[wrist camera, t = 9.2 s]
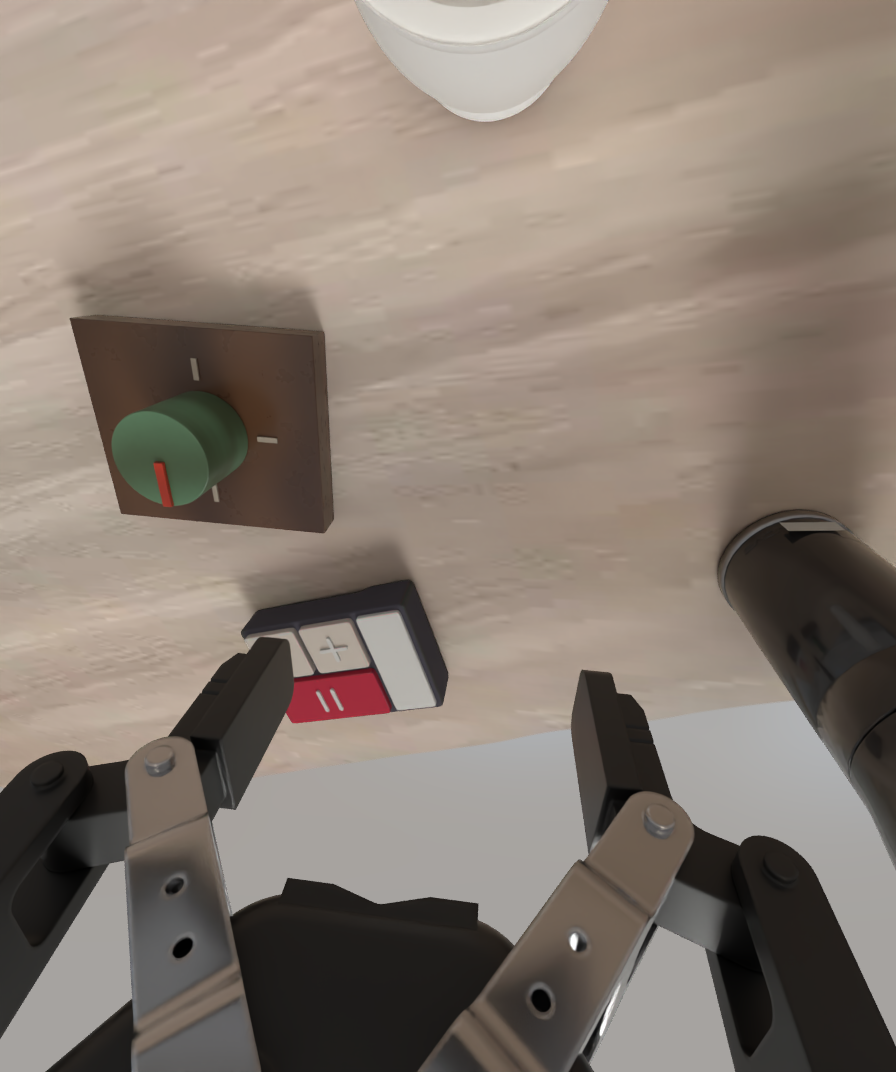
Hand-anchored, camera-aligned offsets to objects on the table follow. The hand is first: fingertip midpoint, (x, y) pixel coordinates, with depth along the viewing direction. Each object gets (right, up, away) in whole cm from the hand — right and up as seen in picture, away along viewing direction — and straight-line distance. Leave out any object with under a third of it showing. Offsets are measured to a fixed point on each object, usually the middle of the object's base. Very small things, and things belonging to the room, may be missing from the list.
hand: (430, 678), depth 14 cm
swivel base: (-16, +12, +24) cm, 32 cm away
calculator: (-8, -6, +33) cm, 34 cm away
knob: (-16, +11, +22) cm, 30 cm away
